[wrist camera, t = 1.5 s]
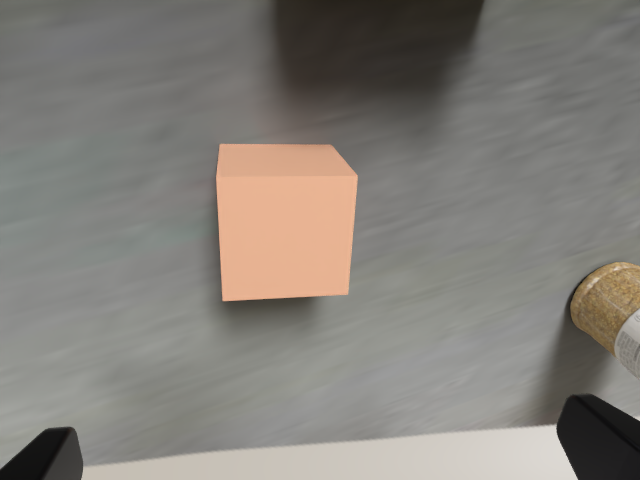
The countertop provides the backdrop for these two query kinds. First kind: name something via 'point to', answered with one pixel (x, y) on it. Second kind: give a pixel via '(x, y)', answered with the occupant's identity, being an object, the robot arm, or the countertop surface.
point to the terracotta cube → (284, 220)
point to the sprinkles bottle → (612, 311)
